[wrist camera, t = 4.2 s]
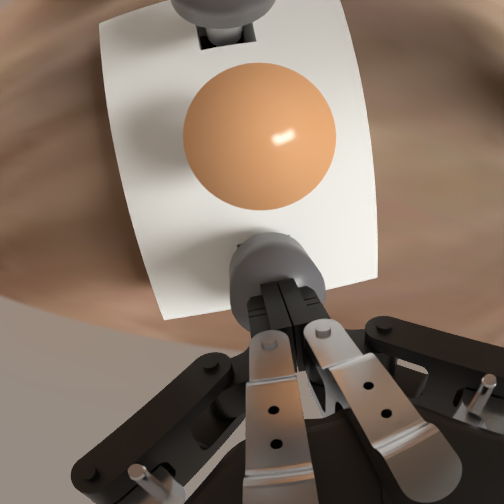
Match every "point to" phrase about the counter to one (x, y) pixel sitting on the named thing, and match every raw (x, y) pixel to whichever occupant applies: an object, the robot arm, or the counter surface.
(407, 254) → the counter surface
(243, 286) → the charcoal knob
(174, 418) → the robot arm
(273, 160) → the middle terracotta knob
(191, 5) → the charcoal knob
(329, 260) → the mounting board
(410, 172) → the counter surface
